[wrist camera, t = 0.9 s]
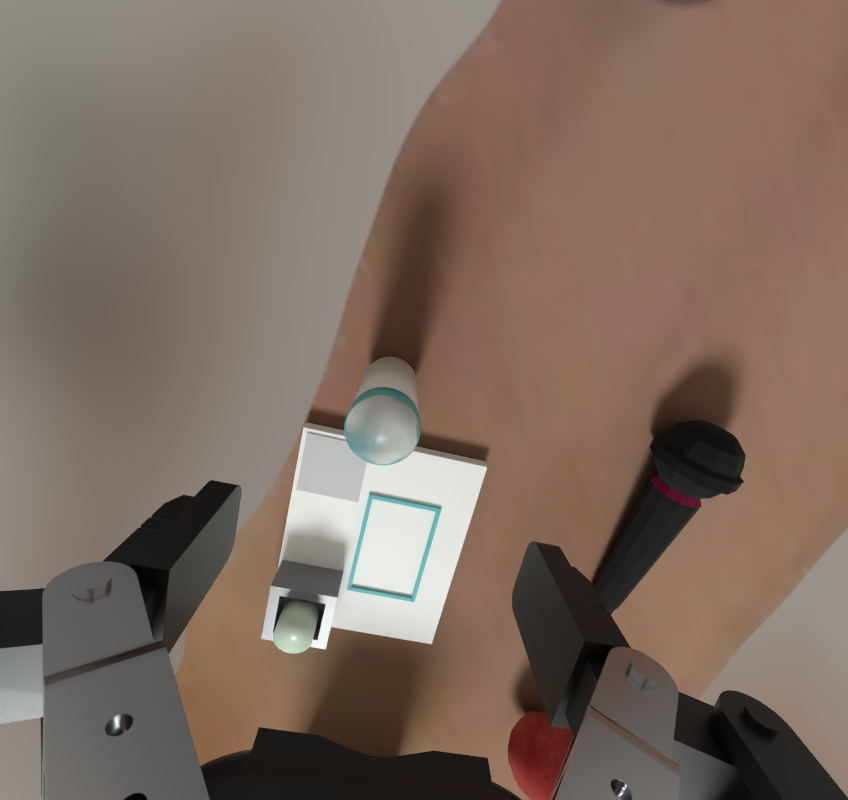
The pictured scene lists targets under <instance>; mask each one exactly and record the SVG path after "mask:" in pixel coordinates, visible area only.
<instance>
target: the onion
mask: <svg viewBox="0 0 848 800" xmlns="http://www.w3.org/2000/svg"><path fill="white" fill-rule="evenodd" d="M573 737H574V736H573V734H572V731H571V729H566V728H559V727H552V726H550V723H549V720H548V717H547V714H546V713H544V712H539V711H536V710H530V711H528V712H527V713H526V714H525V716H524V717H522V718H521V719H520V720H519V721H518V723H517V724H516V725H515V727H514V728H513V730H512V731H511V735H510V739H509V745H508V760H509V764H510V767H511V769H512V772H513V775H514V778H515V780H516V782H517V784H518V786H519V788H520V789H521V790H522V791H523V792H524V794H526V795H527V796H528V797H529V798H530V799H531V800H549V799H550V796H551V794H552V791H553V788H554V786H555V783H556V780H557V778H558V775H559V773H560V770H561V767H562V765H563V762H564V759H565V757H566V754H567V752H568V749H569V747H570V744H571V742H572V739H573Z"/></svg>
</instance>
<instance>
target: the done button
mask: <svg viewBox="0 0 848 800" xmlns="http://www.w3.org/2000/svg"><path fill="white" fill-rule="evenodd" d="M319 613H320V610H319V606H318V605H317V603H316V602H311V601H306V600H300V599H294V598H290V599H289V600H288V601H287V602H286V603H285V604H284V606H283V609H282V612H281V615H280V617H279V620H278V623H277V625H276V628H275V631H274V634H273V640H274V643H275V645H276V646H277V647H278V648H279V649H280V650H282V651H284V652H287V653H301V652H303V651H305V650H307V649H308V648H309V647H310V645H311V644H312V641H313V637H314V633H315V629H316V625H317V621H318V618H319Z"/></svg>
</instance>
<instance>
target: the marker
mask: <svg viewBox="0 0 848 800" xmlns="http://www.w3.org/2000/svg"><path fill="white" fill-rule="evenodd" d="M344 434H345V439H346V442H347V444H348V446H349V447H350V449H351V450H352V451H353V453H354V454H355V455H356V456H358V457H359V458H360V459H362V460H364V461H366V462H368V463H371V464H375V465H391V464H395V463H398V462H400V461H402V460H404V459H405V458H407V457H408V456H409V455H410V454H411V453H412V452H413V450H414V449H415V448H416V446H417V444H418V441H419V437H420V418H419V413H418V401H417V384H416V376H415V373H414V371H413V369H412V367H411V366H410V365H409V364H408V363H407V362H406V361H404V360H402V359H400V358H397V357H383V358H380V359H378V360H376V361H375V362H373V363H372V364H371V365H370V366H369V368H368V369H367V372H366V374H365V376H364V379H363V381H362V383H361V386H360V388H359V391H358V393H357V395H356V398H355V400H354V402H353V404H352V405H351V407H350V410H349V412H348V414H347V417H346V420H345V424H344Z"/></svg>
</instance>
